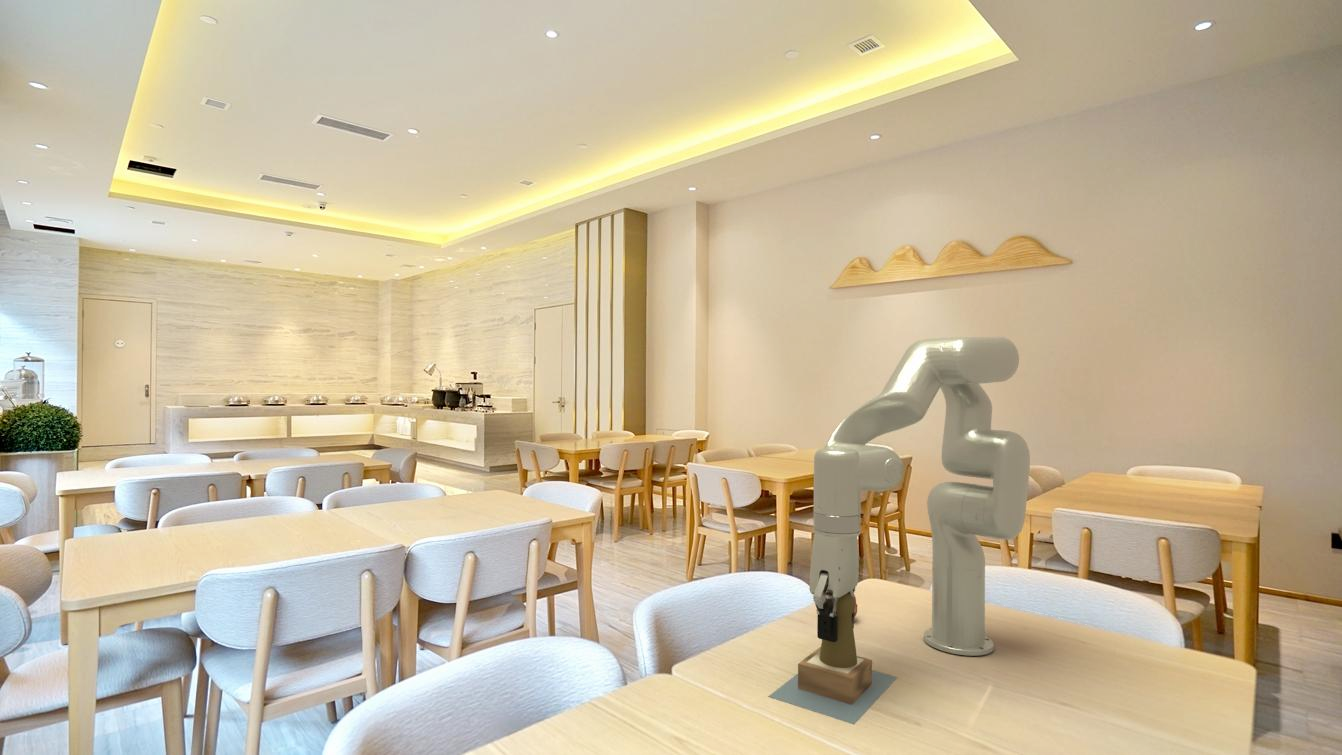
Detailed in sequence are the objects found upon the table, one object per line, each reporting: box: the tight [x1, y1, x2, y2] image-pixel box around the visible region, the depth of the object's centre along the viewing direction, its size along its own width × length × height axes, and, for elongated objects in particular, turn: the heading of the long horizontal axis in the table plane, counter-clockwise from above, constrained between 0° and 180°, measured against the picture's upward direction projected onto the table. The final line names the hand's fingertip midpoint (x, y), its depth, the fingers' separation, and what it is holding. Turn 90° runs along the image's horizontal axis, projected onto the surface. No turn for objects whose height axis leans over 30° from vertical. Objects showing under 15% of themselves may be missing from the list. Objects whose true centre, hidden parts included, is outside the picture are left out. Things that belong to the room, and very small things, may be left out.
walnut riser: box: [797, 646, 873, 705], centre depth 107 cm, size 9×9×4 cm
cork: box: [819, 592, 858, 668], centre depth 108 cm, size 6×6×11 cm
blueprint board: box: [767, 669, 898, 725], centre depth 107 cm, size 20×14×1 cm
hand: (835, 632), depth 108 cm, fingers open, 6 cm apart
